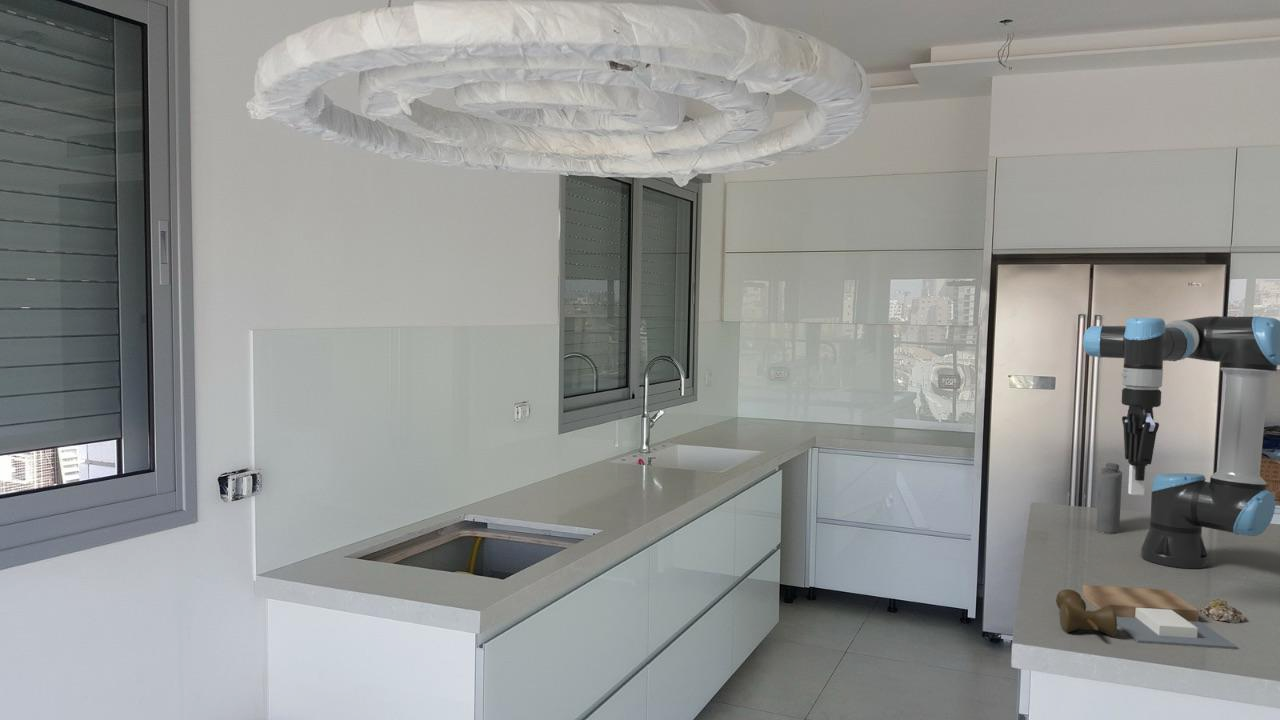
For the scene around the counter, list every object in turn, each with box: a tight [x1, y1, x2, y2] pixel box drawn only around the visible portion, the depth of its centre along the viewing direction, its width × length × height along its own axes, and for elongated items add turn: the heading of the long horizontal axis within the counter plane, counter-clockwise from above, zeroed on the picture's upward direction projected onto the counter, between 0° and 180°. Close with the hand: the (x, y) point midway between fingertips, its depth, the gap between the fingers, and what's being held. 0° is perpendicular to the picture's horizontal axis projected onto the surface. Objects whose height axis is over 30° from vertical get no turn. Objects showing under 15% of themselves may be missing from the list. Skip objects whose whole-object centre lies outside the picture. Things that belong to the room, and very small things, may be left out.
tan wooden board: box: [1081, 584, 1200, 622], centre depth 191 cm, size 18×14×2 cm
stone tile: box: [1135, 608, 1198, 638], centre depth 179 cm, size 7×11×2 cm, turn 173°
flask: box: [1096, 462, 1123, 534], centre depth 266 cm, size 15×6×20 cm, turn 150°
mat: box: [1116, 617, 1238, 650], centre depth 177 cm, size 18×14×1 cm
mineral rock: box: [1199, 598, 1247, 624], centre depth 188 cm, size 11×4×8 cm
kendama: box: [1055, 589, 1118, 638], centre depth 179 cm, size 6×10×20 cm
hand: (1136, 494), depth 194 cm, fingers closed
